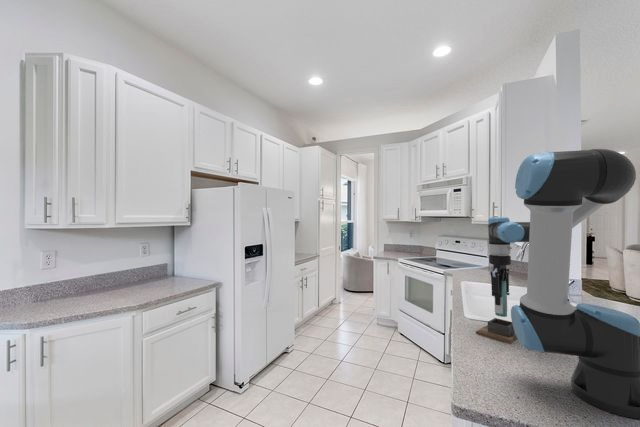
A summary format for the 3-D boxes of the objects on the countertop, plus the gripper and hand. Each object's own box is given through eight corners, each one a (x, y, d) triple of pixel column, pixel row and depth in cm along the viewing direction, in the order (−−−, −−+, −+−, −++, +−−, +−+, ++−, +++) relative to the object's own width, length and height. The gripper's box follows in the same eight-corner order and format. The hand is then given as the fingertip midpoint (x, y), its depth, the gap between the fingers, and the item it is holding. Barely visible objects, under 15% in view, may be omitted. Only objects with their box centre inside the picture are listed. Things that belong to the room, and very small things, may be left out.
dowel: (504, 317, 110) (503, 282, 110) (493, 314, 113) (492, 280, 113) (508, 315, 112) (507, 280, 113) (497, 312, 115) (496, 279, 116)
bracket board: (509, 344, 104) (509, 330, 104) (476, 334, 113) (475, 321, 114) (522, 334, 112) (521, 321, 113) (490, 326, 122) (489, 314, 122)
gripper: (501, 257, 105) (503, 318, 104) (517, 253, 115) (519, 309, 115) (480, 255, 111) (482, 313, 110) (497, 252, 121) (498, 305, 121)
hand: (501, 311), depth 113 cm, fingers closed on dowel, 4 cm apart
